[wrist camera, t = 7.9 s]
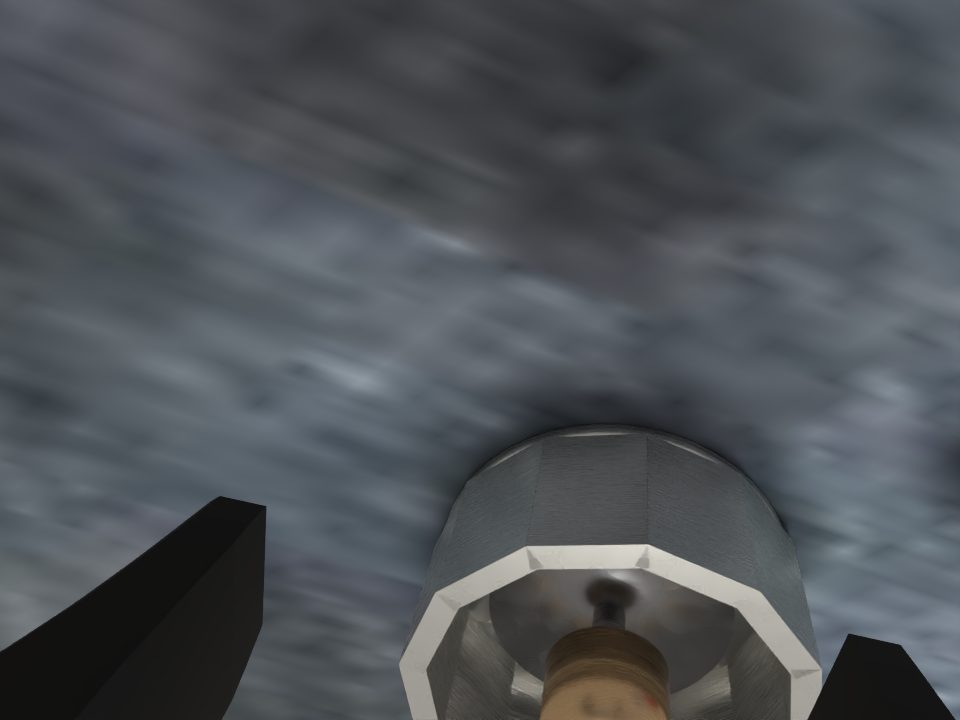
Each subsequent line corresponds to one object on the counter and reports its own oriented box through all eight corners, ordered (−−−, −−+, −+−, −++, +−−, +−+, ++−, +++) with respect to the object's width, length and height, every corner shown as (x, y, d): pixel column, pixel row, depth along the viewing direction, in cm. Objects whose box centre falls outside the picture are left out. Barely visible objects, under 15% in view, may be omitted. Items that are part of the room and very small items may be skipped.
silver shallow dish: (862, 514, 22) (910, 654, 18) (651, 776, 27) (652, 927, 24) (520, 367, 22) (492, 479, 18) (375, 664, 27) (330, 798, 23)
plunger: (780, 563, 22) (810, 721, 18) (663, 714, 25) (666, 878, 21) (548, 465, 21) (527, 603, 17) (458, 630, 24) (423, 780, 20)
